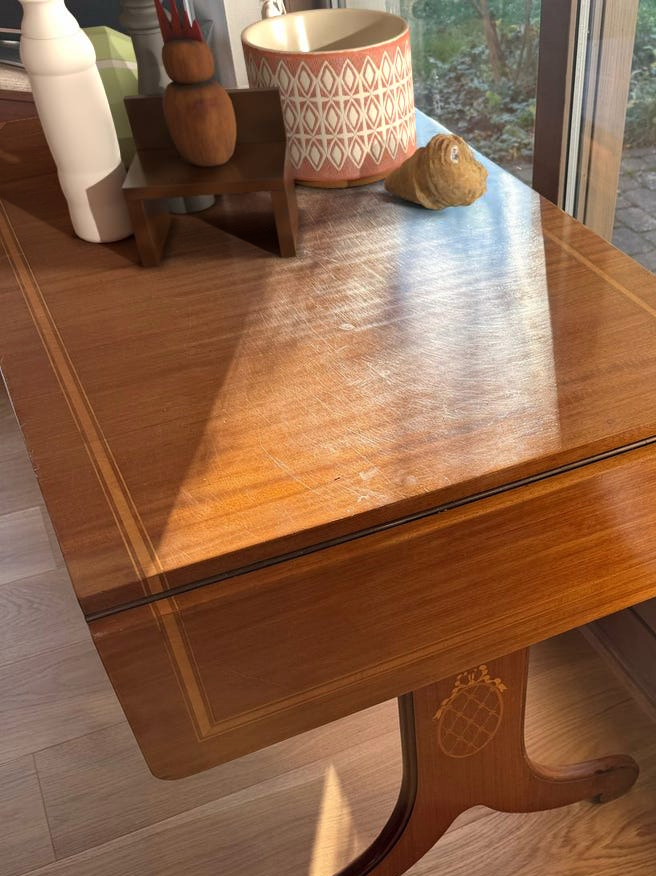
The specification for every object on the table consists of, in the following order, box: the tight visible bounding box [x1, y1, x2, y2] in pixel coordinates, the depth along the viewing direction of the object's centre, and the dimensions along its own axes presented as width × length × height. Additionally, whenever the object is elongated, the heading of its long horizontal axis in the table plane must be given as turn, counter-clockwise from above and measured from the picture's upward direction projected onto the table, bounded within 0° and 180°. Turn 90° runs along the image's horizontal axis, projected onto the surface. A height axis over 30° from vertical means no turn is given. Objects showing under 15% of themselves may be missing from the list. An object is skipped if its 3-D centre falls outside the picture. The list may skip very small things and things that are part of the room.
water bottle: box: [17, 0, 134, 244], centre depth 100 cm, size 7×7×25 cm
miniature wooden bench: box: [122, 86, 300, 268], centre depth 103 cm, size 16×12×13 cm
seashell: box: [383, 132, 489, 211], centre depth 110 cm, size 14×8×8 cm
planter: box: [240, 7, 418, 189], centre depth 117 cm, size 19×19×15 cm
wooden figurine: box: [154, 0, 236, 167], centre depth 96 cm, size 7×6×15 cm
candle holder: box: [118, 0, 216, 214], centre depth 106 cm, size 6×6×25 cm
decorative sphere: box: [81, 25, 138, 174], centre depth 118 cm, size 15×15×15 cm
